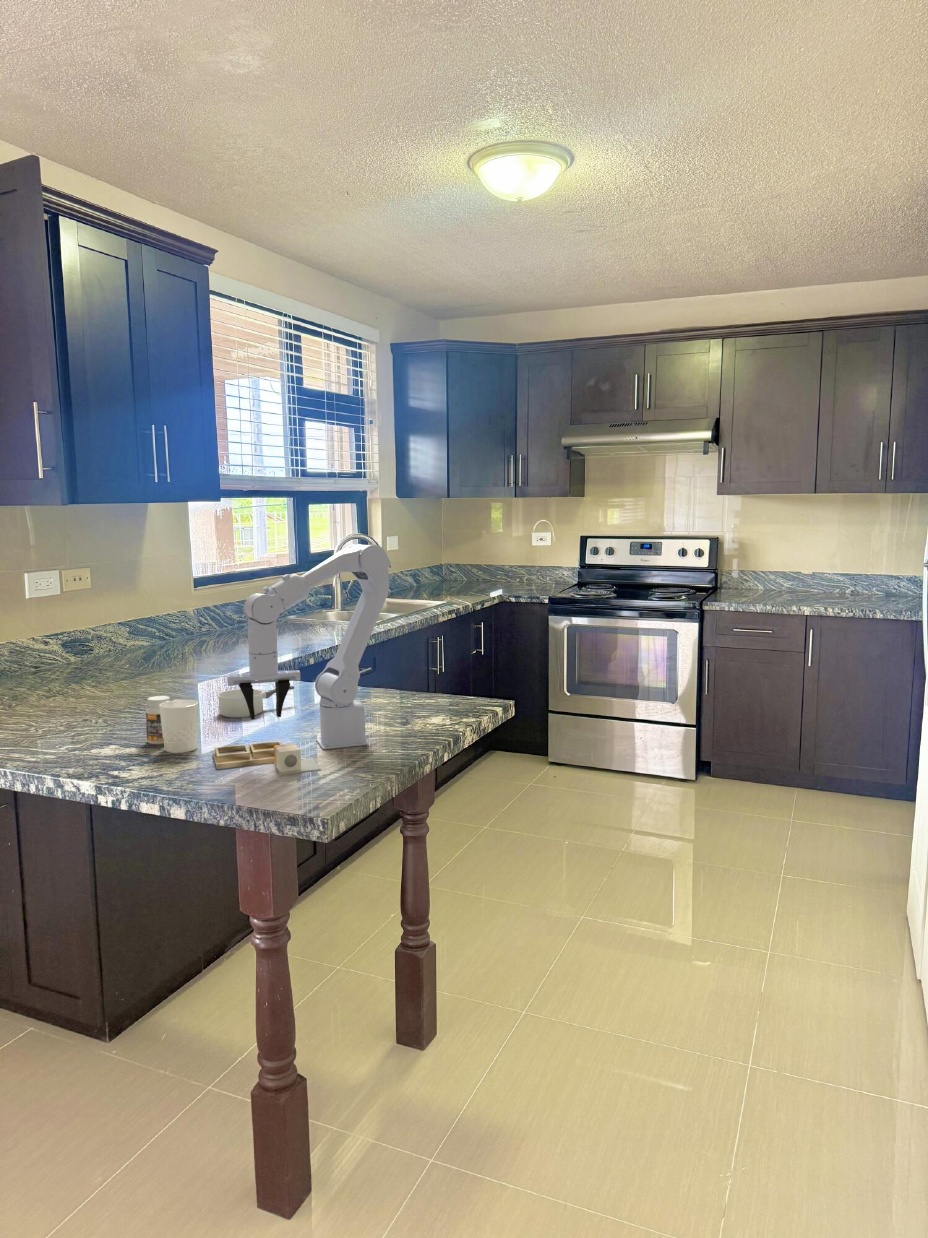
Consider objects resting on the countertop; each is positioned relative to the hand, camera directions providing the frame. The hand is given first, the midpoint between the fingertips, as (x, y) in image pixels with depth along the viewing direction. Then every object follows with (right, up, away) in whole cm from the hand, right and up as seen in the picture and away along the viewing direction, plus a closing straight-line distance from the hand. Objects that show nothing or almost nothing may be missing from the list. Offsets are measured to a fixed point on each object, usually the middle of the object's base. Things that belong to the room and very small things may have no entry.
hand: (265, 717), depth 174 cm
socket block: (-3, -9, 0) cm, 9 cm away
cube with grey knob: (+5, -7, -6) cm, 10 cm away
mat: (+8, -9, -7) cm, 14 cm away
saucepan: (-12, -4, +40) cm, 42 cm away
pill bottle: (-27, -7, +13) cm, 31 cm away
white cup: (-20, -8, +7) cm, 23 cm away
